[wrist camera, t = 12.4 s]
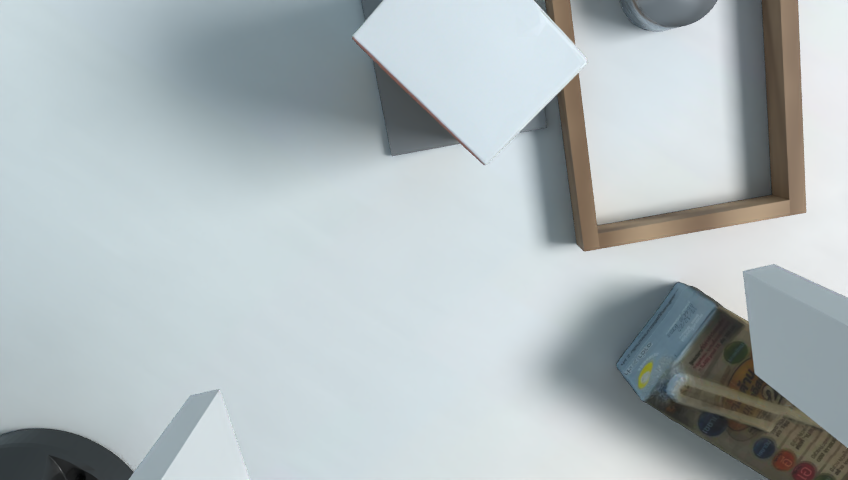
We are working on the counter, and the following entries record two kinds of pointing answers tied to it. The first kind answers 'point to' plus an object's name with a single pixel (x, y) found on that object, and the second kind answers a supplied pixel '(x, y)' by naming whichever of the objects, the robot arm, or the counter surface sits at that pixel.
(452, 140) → the mat
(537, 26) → the small box
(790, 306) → the robot arm
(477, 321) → the counter surface
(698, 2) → the tin
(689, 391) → the beverage carton
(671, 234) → the frame
